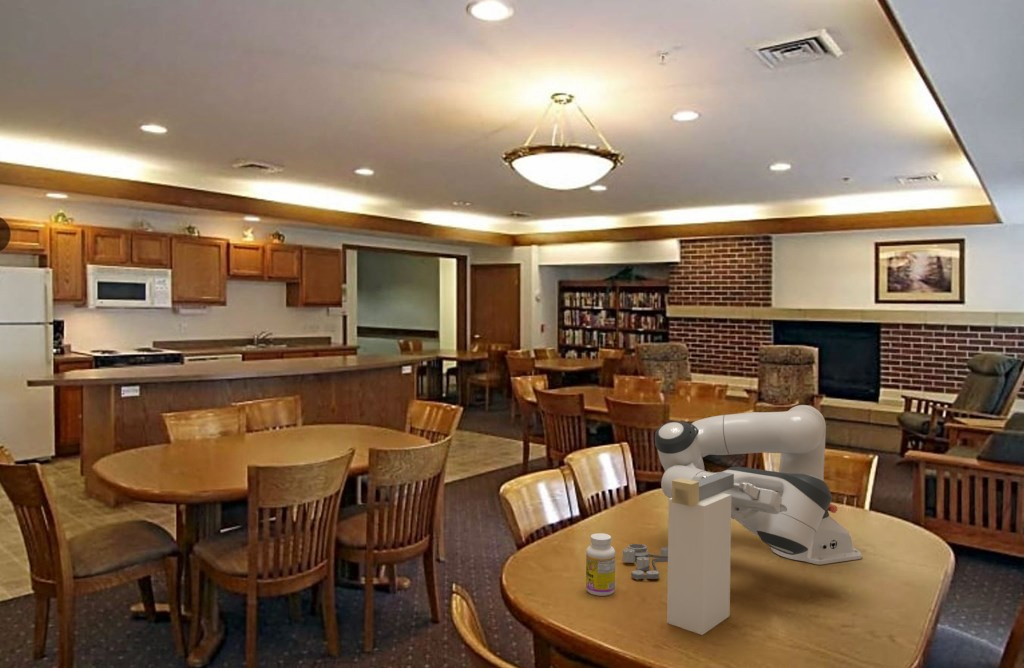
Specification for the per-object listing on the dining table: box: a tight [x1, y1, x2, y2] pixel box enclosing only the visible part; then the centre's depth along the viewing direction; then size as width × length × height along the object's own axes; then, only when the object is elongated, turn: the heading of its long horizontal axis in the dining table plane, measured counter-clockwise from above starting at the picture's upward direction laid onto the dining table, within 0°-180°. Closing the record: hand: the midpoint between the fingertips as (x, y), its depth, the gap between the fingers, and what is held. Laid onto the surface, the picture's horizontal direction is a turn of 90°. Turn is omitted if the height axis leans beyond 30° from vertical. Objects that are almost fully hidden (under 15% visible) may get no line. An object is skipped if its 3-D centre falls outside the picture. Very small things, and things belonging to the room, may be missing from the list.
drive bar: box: [672, 471, 734, 506], centre depth 149 cm, size 20×4×4 cm, turn 137°
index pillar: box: [666, 493, 732, 636], centre depth 148 cm, size 12×8×26 cm, turn 137°
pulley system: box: [622, 543, 668, 581], centre depth 181 cm, size 27×5×15 cm
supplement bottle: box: [585, 532, 616, 597], centre depth 163 cm, size 7×7×13 cm
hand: (722, 482), depth 154 cm, fingers open, 8 cm apart
